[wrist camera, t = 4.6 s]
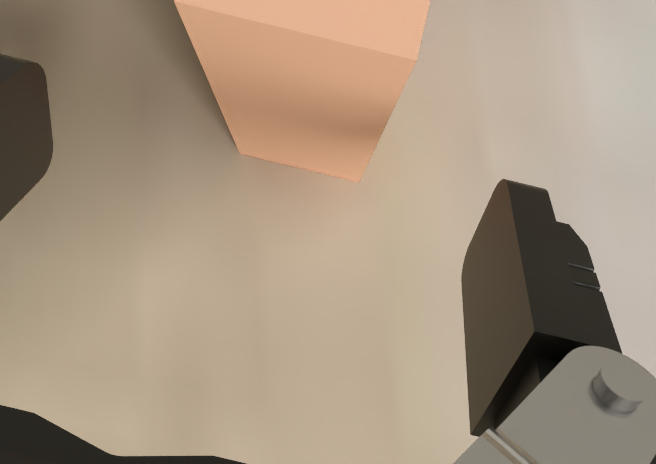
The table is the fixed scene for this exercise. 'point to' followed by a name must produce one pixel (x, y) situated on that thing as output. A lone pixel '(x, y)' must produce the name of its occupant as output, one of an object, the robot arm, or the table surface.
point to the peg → (307, 74)
